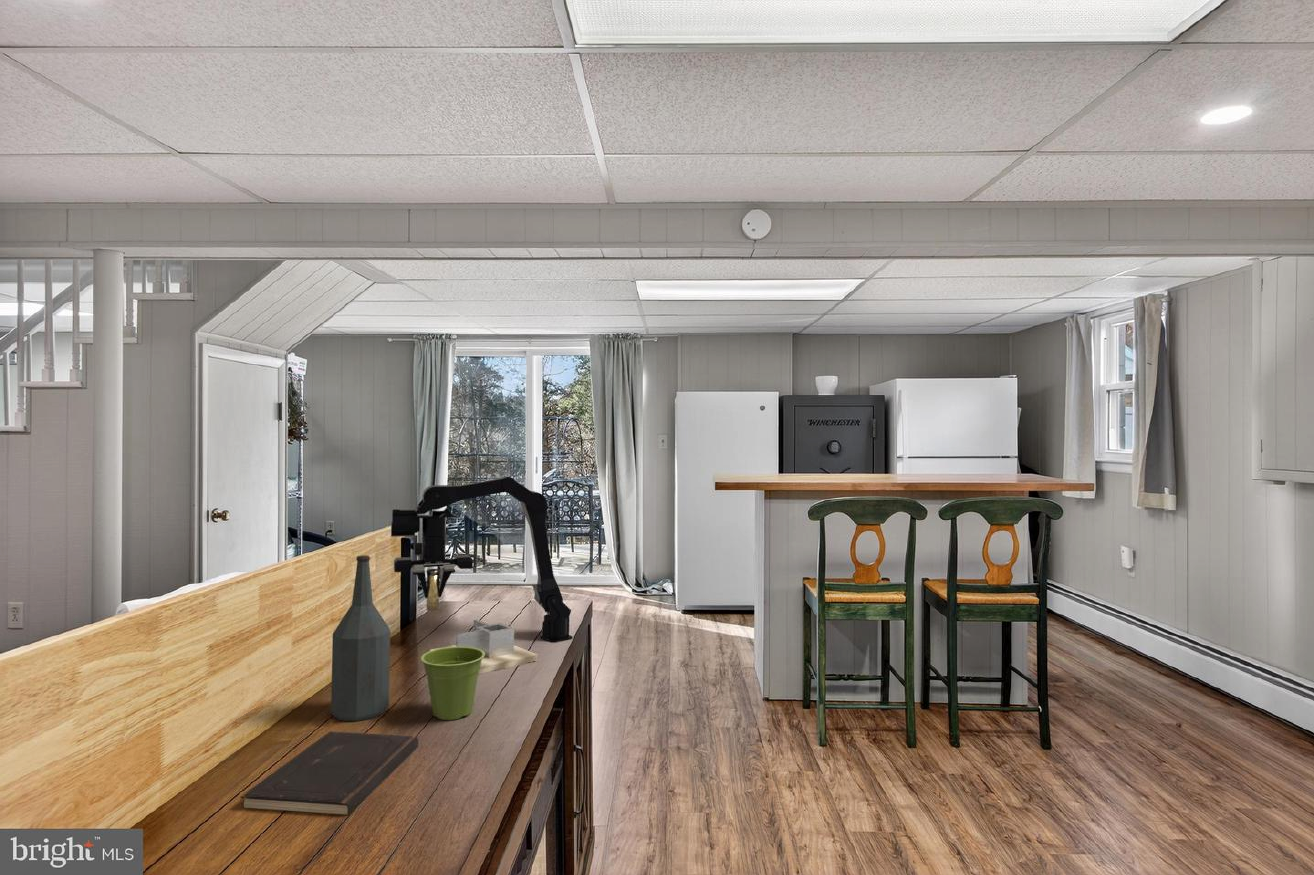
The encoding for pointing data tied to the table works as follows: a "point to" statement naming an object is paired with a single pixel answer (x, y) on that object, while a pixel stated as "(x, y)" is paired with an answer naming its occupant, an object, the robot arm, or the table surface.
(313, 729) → the table surface
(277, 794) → the hardcover book
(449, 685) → the plant pot
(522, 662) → the beige panel with ridges
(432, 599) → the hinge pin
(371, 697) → the bottle
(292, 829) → the table surface
